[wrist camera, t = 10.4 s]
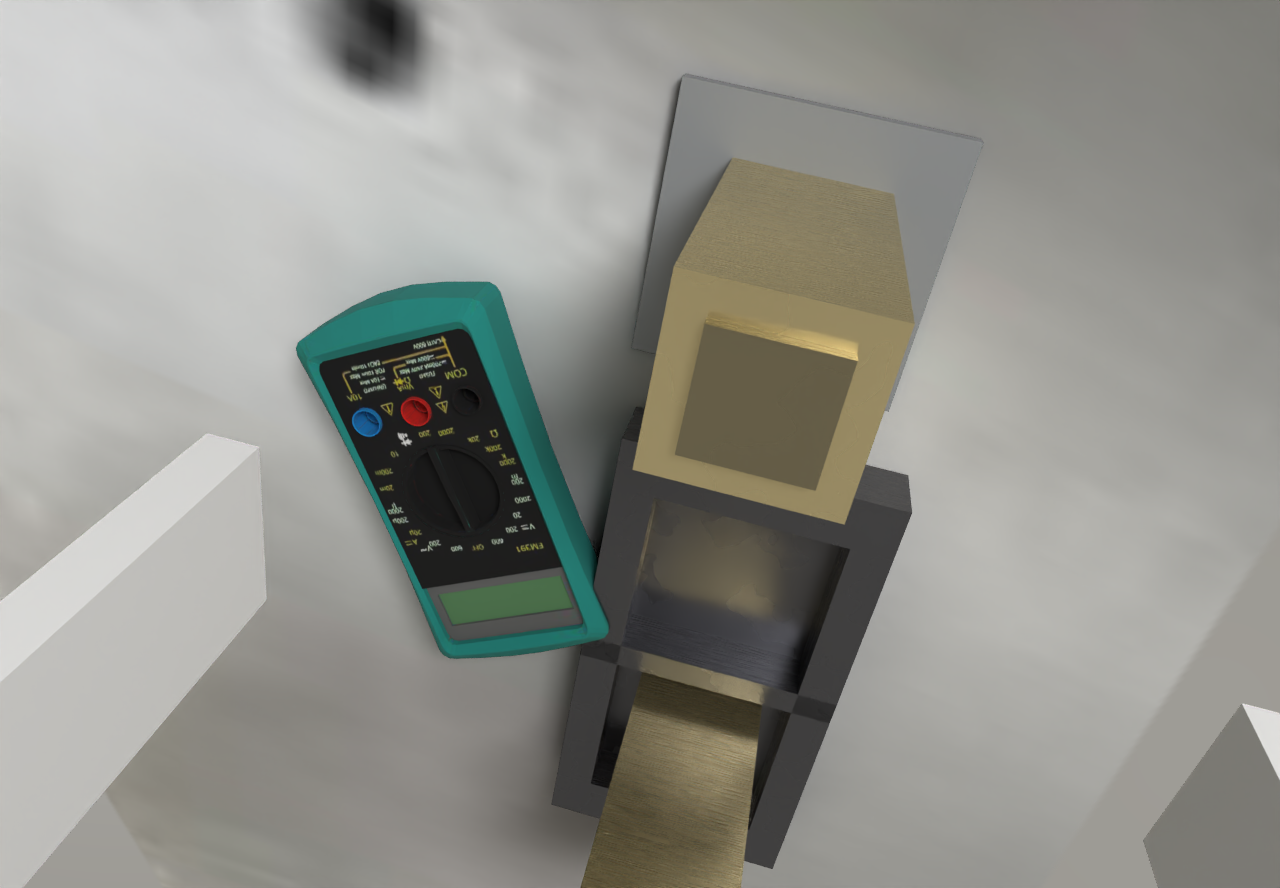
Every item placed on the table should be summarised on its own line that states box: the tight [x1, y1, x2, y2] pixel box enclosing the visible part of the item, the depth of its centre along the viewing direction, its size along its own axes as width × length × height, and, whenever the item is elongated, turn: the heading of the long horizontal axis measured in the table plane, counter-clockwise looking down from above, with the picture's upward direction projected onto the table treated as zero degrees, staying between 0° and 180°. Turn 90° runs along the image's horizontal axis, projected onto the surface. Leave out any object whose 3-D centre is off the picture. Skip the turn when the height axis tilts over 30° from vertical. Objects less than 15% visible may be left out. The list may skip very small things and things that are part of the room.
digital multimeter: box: [296, 282, 609, 659], centre depth 35 cm, size 7×15×3 cm, turn 17°
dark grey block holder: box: [552, 407, 912, 869], centre depth 37 cm, size 19×10×2 cm, turn 170°
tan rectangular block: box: [633, 157, 915, 525], centre depth 25 cm, size 5×5×11 cm
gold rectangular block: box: [581, 672, 762, 888], centre depth 35 cm, size 5×5×11 cm
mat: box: [632, 74, 984, 412], centre depth 30 cm, size 9×9×1 cm
